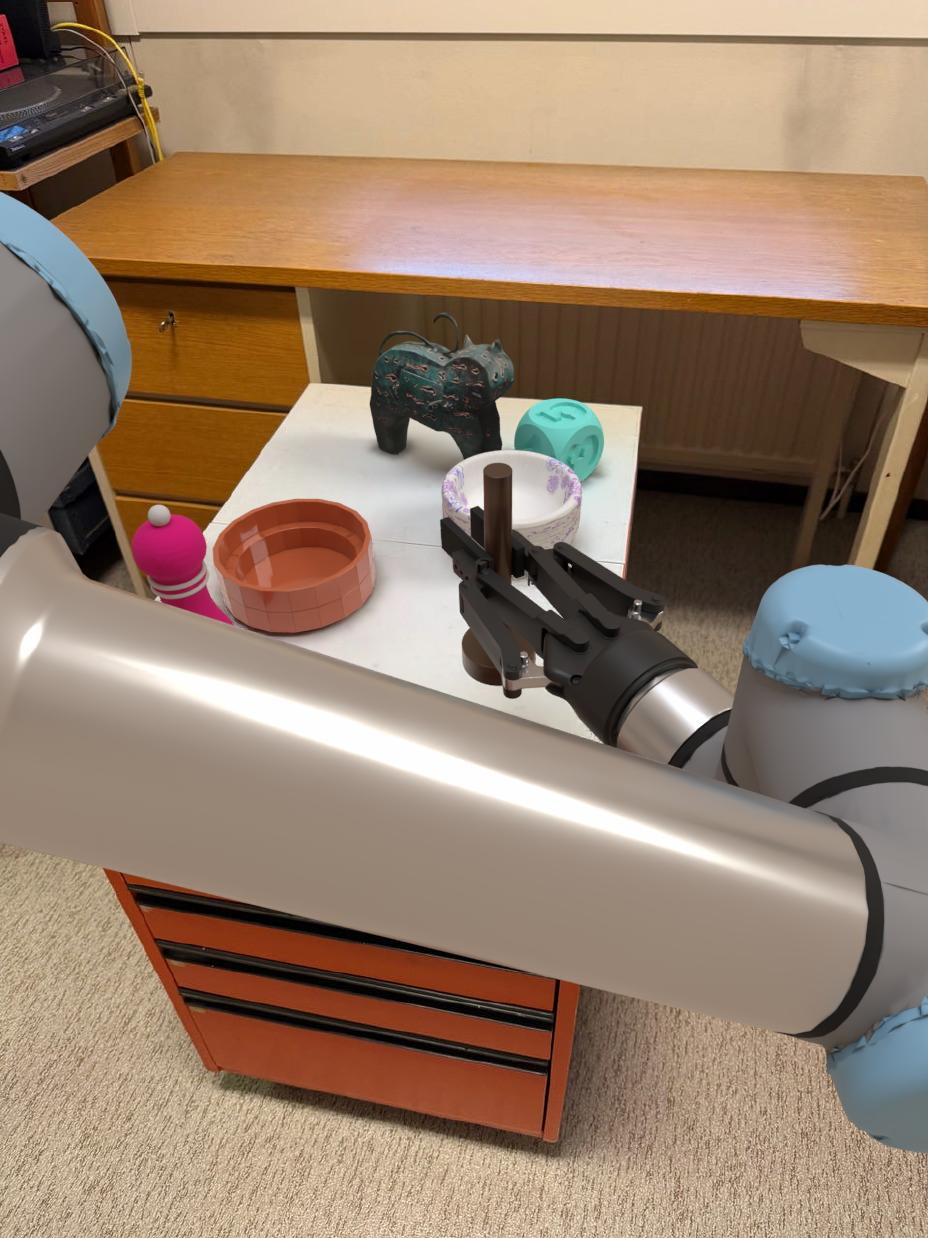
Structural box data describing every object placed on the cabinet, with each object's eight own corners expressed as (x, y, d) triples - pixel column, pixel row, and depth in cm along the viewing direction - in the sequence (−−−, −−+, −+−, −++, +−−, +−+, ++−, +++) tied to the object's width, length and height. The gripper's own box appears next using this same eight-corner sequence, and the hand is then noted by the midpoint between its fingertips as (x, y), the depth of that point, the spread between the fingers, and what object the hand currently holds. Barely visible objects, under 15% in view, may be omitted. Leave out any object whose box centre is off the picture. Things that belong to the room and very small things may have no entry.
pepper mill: (157, 696, 83) (91, 522, 70) (201, 647, 88) (147, 476, 75) (221, 716, 81) (165, 539, 68) (263, 664, 86) (218, 491, 73)
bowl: (229, 650, 88) (216, 604, 84) (222, 556, 100) (210, 512, 96) (388, 619, 91) (382, 573, 87) (362, 532, 103) (357, 488, 99)
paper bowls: (607, 547, 99) (612, 487, 93) (501, 603, 92) (501, 541, 87) (519, 490, 108) (519, 433, 103) (418, 537, 101) (413, 478, 96)
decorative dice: (512, 469, 112) (513, 412, 106) (558, 447, 115) (560, 391, 110) (556, 495, 107) (559, 436, 102) (602, 471, 111) (607, 413, 105)
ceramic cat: (517, 475, 111) (518, 319, 98) (488, 499, 107) (485, 340, 94) (395, 433, 120) (380, 286, 107) (364, 454, 116) (345, 304, 103)
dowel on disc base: (472, 692, 69) (466, 500, 57) (454, 643, 74) (445, 454, 62) (545, 678, 70) (553, 485, 58) (523, 629, 75) (526, 442, 63)
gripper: (555, 804, 53) (378, 597, 69) (739, 705, 59) (537, 534, 74) (560, 720, 48) (369, 517, 64) (760, 621, 54) (539, 456, 69)
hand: (460, 527), depth 69 cm, fingers closed on dowel on disc base, 2 cm apart
